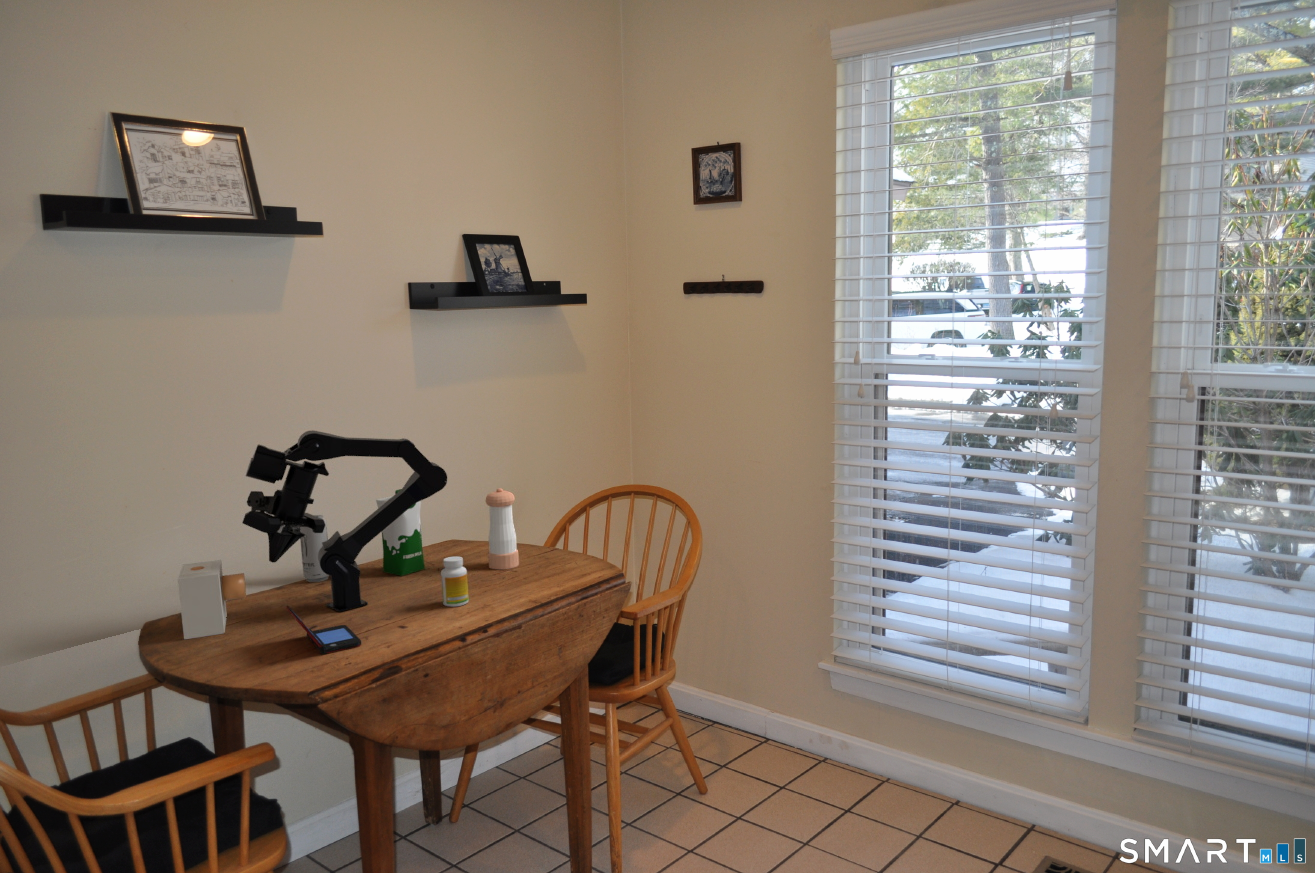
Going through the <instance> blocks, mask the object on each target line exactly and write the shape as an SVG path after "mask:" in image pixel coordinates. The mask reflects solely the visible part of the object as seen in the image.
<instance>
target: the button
mask: <svg viewBox="0 0 1315 873" xmlns="http://www.w3.org/2000/svg"><path fill="white" fill-rule="evenodd" d="M246 588H247V587H246V578H245V572H243V573H242V572H241V573H240V572H239V573H234V574H225V575H223V576H222V592H223V599H224V601H225V602H226V601H232V600H238V599H239V600H240V599H245V598H247V589H246Z"/></svg>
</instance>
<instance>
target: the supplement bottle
mask: <svg viewBox="0 0 1315 873" xmlns="http://www.w3.org/2000/svg"><path fill="white" fill-rule="evenodd" d="M463 565H464V559H463V557H462V556H449V557H445V558H443V567H444V568H443V569H442V570H441V571H440V579H441V580H440V582H441V594H442V595H441V597H442V598H441V599H442V604H443V606H445V607H452V608H453V607H460V606H463V605H466V604H468V603H469V600H470V597H469V586H468V585H469V584H468V582H469V581H468V570H467V568H466V567H465V566H463Z"/></svg>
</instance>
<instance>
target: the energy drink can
mask: <svg viewBox="0 0 1315 873" xmlns="http://www.w3.org/2000/svg"><path fill="white" fill-rule="evenodd" d="M314 516H316V517H318V518H321V519H323V520H324V522H325V528H324V531H323V533H314V532H313V531H312V529H311V528H309V527H300V529H301V530H300V532H301V533H303V534H305V536H304V537H301V538H300V539H299V541H300V552H301V564H302V573H303V579H305V580H306V582H307V581H308V582H309V583H318V582H325V581H327V580H328V579H329V578H330V575H328V574H326V573H324V572H323V571H322V569H321V567H320V564H319V560H318V552H319V550H320V549H321V548H322V546H323V545H322V542H325V541H327V540H328V527H327V526H328V525H327V521H326V520H325V518H324V515H323V514H322V515H321V514H314Z"/></svg>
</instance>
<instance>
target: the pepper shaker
mask: <svg viewBox="0 0 1315 873" xmlns="http://www.w3.org/2000/svg"><path fill="white" fill-rule="evenodd" d="M515 500H516V498H515V495H514V494H513V493H512V492H510V491H508V490H504V489H503V488H501V487H498V488H497V489H496V490H495V491H492V492H489V493H488V494H487V495H486V497H485V504H486V505H487V507H488V506H489V508H488V509H489V510H488V511H489V533H488V547H489V551H488V553H487V554H488V555H487V556H488V568H490V569H492V570H509V569H514V568H517V567H518V566H520V558H519V557H520V556H519V550H518V548H517V533H516V530H515V526H514V517H513V516H514V515H513V505H514V503H515Z"/></svg>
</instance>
